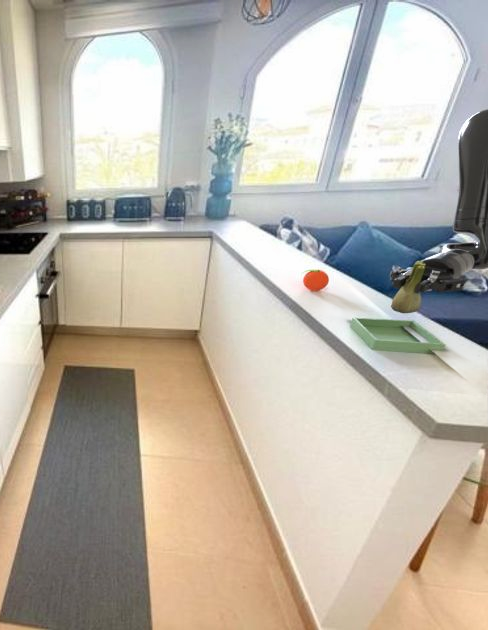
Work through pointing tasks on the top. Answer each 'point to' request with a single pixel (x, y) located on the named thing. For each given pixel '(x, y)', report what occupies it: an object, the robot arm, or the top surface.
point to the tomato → (315, 280)
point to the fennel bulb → (409, 292)
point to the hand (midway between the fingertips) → (407, 286)
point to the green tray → (394, 335)
